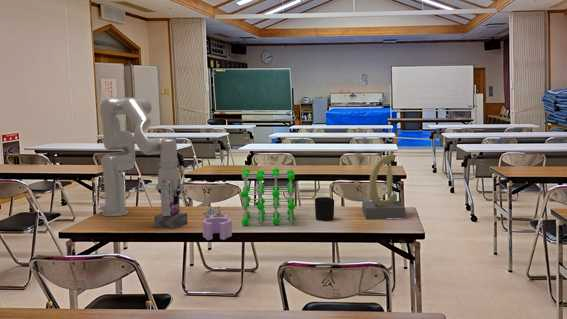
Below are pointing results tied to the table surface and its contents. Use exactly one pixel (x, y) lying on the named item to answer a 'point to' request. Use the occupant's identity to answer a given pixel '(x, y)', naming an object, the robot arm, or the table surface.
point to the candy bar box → (168, 199)
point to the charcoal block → (171, 220)
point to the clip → (217, 227)
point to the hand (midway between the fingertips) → (170, 203)
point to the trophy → (377, 206)
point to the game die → (213, 212)
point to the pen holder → (324, 208)
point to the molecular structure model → (275, 199)
